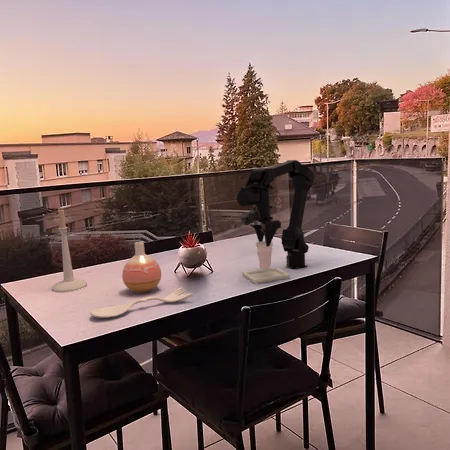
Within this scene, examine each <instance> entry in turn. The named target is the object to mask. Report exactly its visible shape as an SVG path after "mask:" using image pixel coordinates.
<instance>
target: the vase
mask: <svg viewBox="0 0 450 450" xmlns="http://www.w3.org/2000/svg"><path fill="white" fill-rule="evenodd" d="M134 250H135V251H134V252H135V253H134V255H133V256H132V257H131V258H129V259H128V260H127V262H126V263H125V265H124V266H123V269H122V275H121V277H122V282H123V284H124V285H125V287H126V288H128V289H129V290H130V291H132V292H133V293H135V294H146V292H147V293H150V292H152V291H154V289H155V288H156V287H157V286H158V285H159V284H160V282H161V279H162V271H161V267H160V265H159V264H158V262H157V260H155V259H154V258H153V257H152V256H150V255H148V254H146V253H145V244H144V242H143V241H135V242H134Z"/></svg>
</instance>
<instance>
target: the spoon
mask: <svg viewBox="0 0 450 450" xmlns="http://www.w3.org/2000/svg"><path fill="white" fill-rule="evenodd" d="M193 295H194V293H192V292H191V293H187V292H186V291H185V290H184V287H179V288H177V289H176V290H174V291H173V292H172V293H169V294H168V295H166V296H165V297H159V296H148V297H141V298H139V299H135V300H134V301H131V302H128V303H125V304H118V305H113V306H108V307H101V308H95V309H91V310H90V311H89V313H90V315H91V316H92V317H94V318H101V319H102V318H104V319H106V318H107V319H110V317H111V318H115V317H119V316H121V315H122V314H124V313H126V312H127V311H129V309H130V308H132V307H134V306H135V305H137V304H140V303H146V302H149V301H160V302H164V303H175V302H180V301H182V300H183V301H184V300H185V299H188V298H191V297H193Z"/></svg>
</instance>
